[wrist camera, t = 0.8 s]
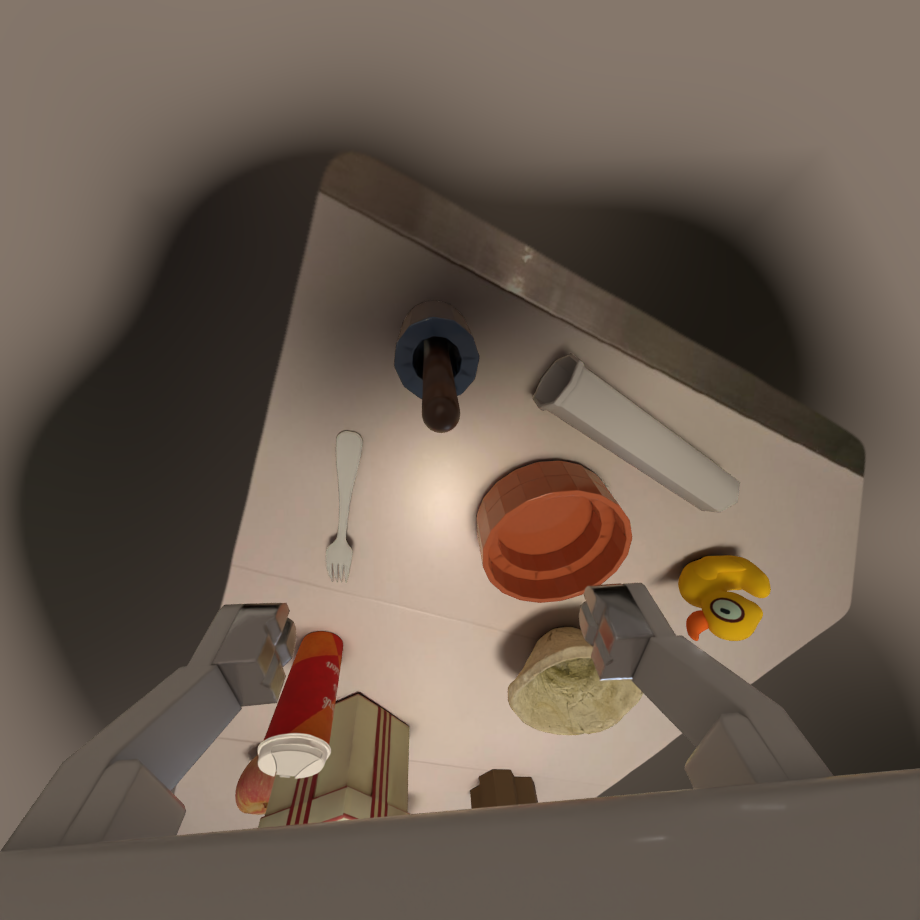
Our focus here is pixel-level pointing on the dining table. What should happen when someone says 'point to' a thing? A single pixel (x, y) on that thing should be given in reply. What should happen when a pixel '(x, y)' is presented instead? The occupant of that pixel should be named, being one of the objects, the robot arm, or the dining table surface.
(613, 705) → the bowl
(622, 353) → the dining table surface
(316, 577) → the dining table surface
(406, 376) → the crock
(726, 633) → the duckling
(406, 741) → the gift box
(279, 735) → the paper cup
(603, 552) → the orange round shallow dish
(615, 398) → the tube
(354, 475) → the fork
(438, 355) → the stirring stick
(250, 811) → the apple
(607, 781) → the dining table surface
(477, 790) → the candle
